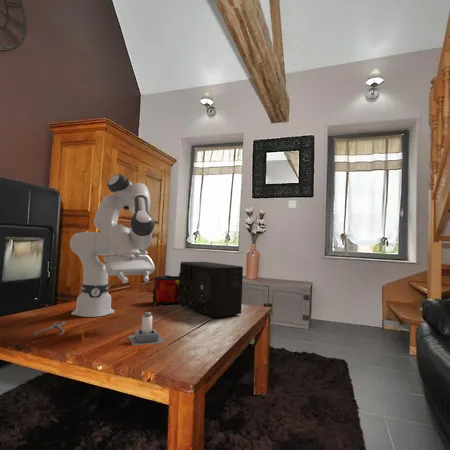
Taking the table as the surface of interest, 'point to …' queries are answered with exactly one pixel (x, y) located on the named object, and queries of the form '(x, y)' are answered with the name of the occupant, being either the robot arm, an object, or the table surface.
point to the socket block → (145, 338)
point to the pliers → (53, 327)
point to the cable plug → (147, 323)
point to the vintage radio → (211, 288)
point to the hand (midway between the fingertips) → (136, 281)
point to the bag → (166, 290)
